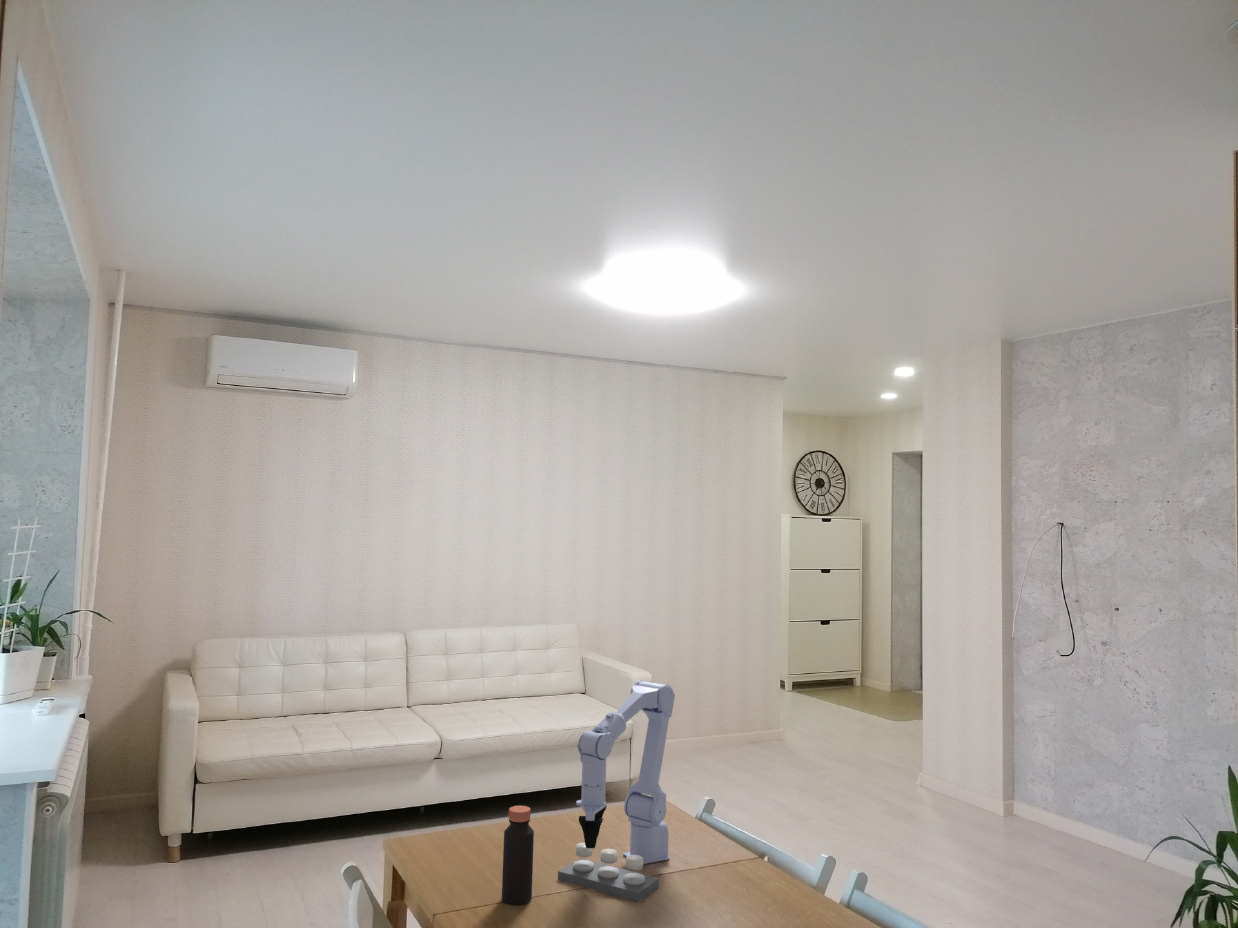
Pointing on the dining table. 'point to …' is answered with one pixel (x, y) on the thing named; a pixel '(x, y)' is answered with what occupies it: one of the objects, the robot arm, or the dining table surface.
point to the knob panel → (609, 879)
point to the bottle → (518, 857)
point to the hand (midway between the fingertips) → (592, 841)
